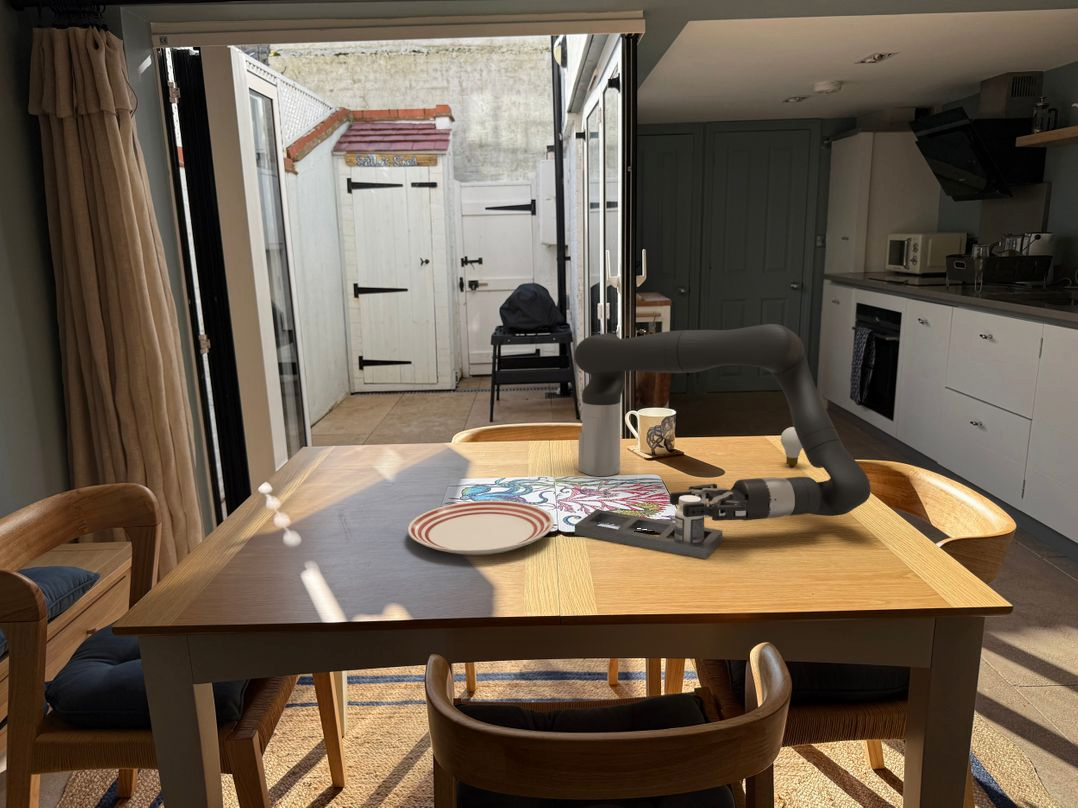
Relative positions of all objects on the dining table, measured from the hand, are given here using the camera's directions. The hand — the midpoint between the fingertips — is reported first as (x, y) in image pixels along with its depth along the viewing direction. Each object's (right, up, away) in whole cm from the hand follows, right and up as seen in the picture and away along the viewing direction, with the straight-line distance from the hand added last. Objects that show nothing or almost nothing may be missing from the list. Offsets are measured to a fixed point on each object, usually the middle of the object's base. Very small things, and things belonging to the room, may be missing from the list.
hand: (677, 504), depth 143 cm
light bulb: (+37, +3, +52) cm, 64 cm away
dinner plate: (-36, -7, +7) cm, 37 cm away
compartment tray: (-5, -7, +6) cm, 10 cm away
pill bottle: (+3, -8, +2) cm, 8 cm away
